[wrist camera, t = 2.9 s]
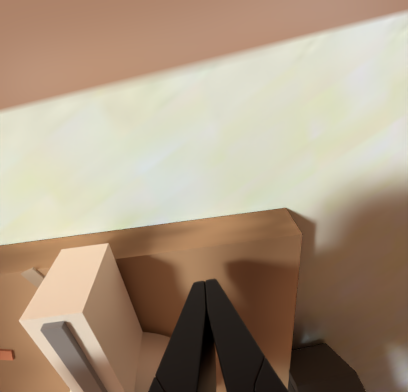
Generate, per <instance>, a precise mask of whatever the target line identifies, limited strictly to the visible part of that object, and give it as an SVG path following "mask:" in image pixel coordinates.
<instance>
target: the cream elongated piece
mask: <svg viewBox="0 0 408 392" xmlns="http://www.w3.org/2000/svg"><path fill="white" fill-rule="evenodd" d="M19 322H20V323H21V325H22V326H23V327H24V329H25V330H26V331H27V333H28V334H29V335H30V337H31V338H32V339H33V341H34V342H35V343H36V345H37V346H38V347H39V349H40V350H41V351H42V353H43V354H44V355H45V357H46V358H47V359H48V361H49V362H50V363H51V365H52V366H53V367H54V369H55V370H56V371H57V373H58V374H59V375H60V377H61V378H62V379H63V381H64V382H65V383H66V385H67V386H68V387H69V388H70V392H148V391H149V388H150V386H151V383H152V381H153V378H154V377H156V376H155V374H156V371H157V369H158V367H159V364H160V362H161V359H162V357H163V355H164V352H165V350H166V347H167V345H168V342H169V340H170V337H167V336H164V335H160V334H156V333H149V332H142V329H141V326H140V324H139V321H138V318H137V316H136V313H135V311H134V308H133V305H132V303H131V300H130V298H129V295H128V292H127V290H126V287H125V285H124V282H123V279H122V277H121V274H120V272H119V269H118V266H117V264H116V261H115V259H114V256H113V253H112V251H111V248H110V246H109V243H106V244H98V245H90V246H83V247H75V248H68V249H62V250H61V251H60V253H59V255H58V256H57V258H56V260H55V261H54V263H53V265H52V266H51V268H50V270H49V271H48V273H47V275H46V276H45V278H44V280H43V281H42V283H41V285H40V286H39V288H38V290H37V291H36V293H35V295H34V296H33V298H32V300H31V301H30V303H29V304H28V306H27V308H26V309H25V311H24V313H23V314H22V316H21V318H20V319H19Z"/></svg>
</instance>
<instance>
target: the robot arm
mask: <svg viewBox="0 0 408 392" xmlns="http://www.w3.org/2000/svg"><path fill="white" fill-rule="evenodd" d="M215 347H216V351H217V355H218V359H219V363H220V367H221V371H222V375H223V379H224V383H225V387H226V391H227V392H289V391H288V389H287V388H286V387H285V385H284V384H283V382H282V381H281V379H280V378H279V376H278V375H277V373H276V372H275V370H274V369H273V367H272V366H271V364H270V363H269V361H268V359H267V358H266V357H265V355H264V353H263V352H262V350H261V349H260V347H259V345H258V344H257V342H256V341H255V339H254V338H253V336H252V334H251V333H250V331H249V330H248V328H247V327H246V325H245V323H244V322H243V320H242V319H241V317H240V315H239V314H238V312H237V311H236V309H235V308H234V306H233V304H232V303H231V301H230V300H229V298H228V296H227V295H226V293H225V292H224V290H223V289H222V287H221V285H220V284H219V282H218V281H217V279H215V278H214V279H208V280H206V281H197V282H194V283H193V285H192V287H191V289H190V292H189V294H188V297H187V299H186V301H185V304H184V306H183V309H182V311H181V313H180V316H179V318H178V321H177V323H176V326H175V328H174V330H173V333H172V335H171V338H170V340H169V342H168V345H167V347H166V350H165V352H164V355H163V357H162V359H161V362H160V364H159V367H158V369H157V371H156V374H155V376H156V377H154V378H153V381H152V383H151V386H150V388H149V391H148V392H216V351H215Z"/></svg>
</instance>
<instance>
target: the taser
mask: <svg viewBox="0 0 408 392" xmlns="http://www.w3.org/2000/svg"><path fill="white" fill-rule="evenodd" d="M288 391H289V392H366V391H365V389H364V387H363V385H362V383H361V381H360V379H359V377H358V375H357V374H356V372H355V371H354V370H353V369H352V368H351V367H350V366H349V365H348V364H347V363H346V362H345V361H344V360H343V359H342V358H341V357H340V356H339V355H338V354H337V353H336V352H335V351H333V350H332V349H331V348H330V347H329V346H328V345H327V344H326V343H325V344H320V345H315V346H311V347H306V348H301V349H297V350H292V351H291V360H290V370H289V381H288Z"/></svg>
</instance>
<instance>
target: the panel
mask: <svg viewBox="0 0 408 392" xmlns="http://www.w3.org/2000/svg"><path fill="white" fill-rule="evenodd" d="M106 243H109V246H110V248H111V251H112V253H113V256H114V259H115V261H116V264H117V266H118V269H119V272H120V274H121V277H122V279H123V282H124V285H125V287H126V290H127V292H128V295H129V298H130V300H131V303H132V305H133V308H134V311H135V313H136V316H137V318H138V321H139V324H140V326H141V329H142V332H149V333H156V334H160V335H164V336H167V337H170V338H171V335H172V333H173V330H174V328H175V326H176V323H177V321H178V318H179V316H180V313H181V311H182V309H183V306H184V304H185V301H186V299H187V297H188V294H189V292H190V289H191V287H192V285H193V283H194V282H197V281H206V280H208V279H214V278H215V279H217V281H218V282H219V284H220V285H221V287H222V289H223V290H224V292H225V293H226V295H227V296H228V298H229V300H230V301H231V303H232V304H233V306H234V308H235V309H236V311H237V312H238V314H239V315H240V317H241V319H242V320H243V322H244V323H245V325H246V327H247V328H248V330H249V331H250V333H251V334H252V336H253V338H254V339H255V341H256V342H257V344H258V345H259V347H260V349H261V350H262V352H263V353H264V355H265V357H266V358H267V359H268V361H269V363H270V364H271V366H272V367H273V369H274V370H275V372H276V373H277V375H278V376H279V378H280V379H281V381H282V382H283V384H284V385H285V387H286V388H287V389H288V381H289V370H290V360H291V349H292V339H293V328H294V318H295V307H296V297H297V286H298V276H299V265H300V255H301V244H302V233H301V231H300V230H299V228H298V226H297V225H296V223H295V222H294V220H293V218H292V217H291V215H290V214H289V212H288V211H287V209H286V208H282V209H274V210H267V211H259V212H252V213H244V214H236V215H229V216H221V217H214V218H206V219H199V220H191V221H183V222H176V223H168V224H161V225H153V226H146V227H138V228H130V229H123V230H115V231H108V232H100V233H93V234H85V235H78V236H70V237H62V238H55V239H47V240H40V241H32V242H25V243H17V244H9V245H2V246H0V392H70V388H69V387H68V386H67V385H66V383H65V382H64V381H63V379H62V378H61V377H60V375H59V374H58V373H57V371H56V370H55V369H54V367H53V366H52V365H51V363H50V362H49V361H48V359H47V358H46V357H45V355H44V354H43V353H42V351H41V350H40V349H39V347H38V346H37V345H36V343H35V342H34V341H33V339H32V338H31V337H30V335H29V334H28V333H27V331H26V330H25V329H24V327H23V326H22V325H21V323H20V322H19V319H20V318H21V316H22V314H23V313H24V311H25V309H26V308H27V306H28V304H29V303H30V301H31V300H32V298H33V296H34V295H35V293H36V291H37V290H38V288H39V286H40V285H41V283H42V281H43V280H44V278H45V276H46V275H47V273H48V271H49V270H50V268H51V266H52V265H53V263H54V261H55V260H56V258H57V256H58V255H59V253H60V251H61V250H62V249H68V248H75V247H83V246H90V245H98V244H106ZM215 351H216V347H215ZM216 392H227V391H226V387H225V383H224V379H223V375H222V371H221V367H220V363H219V359H218V355H217V351H216Z"/></svg>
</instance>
